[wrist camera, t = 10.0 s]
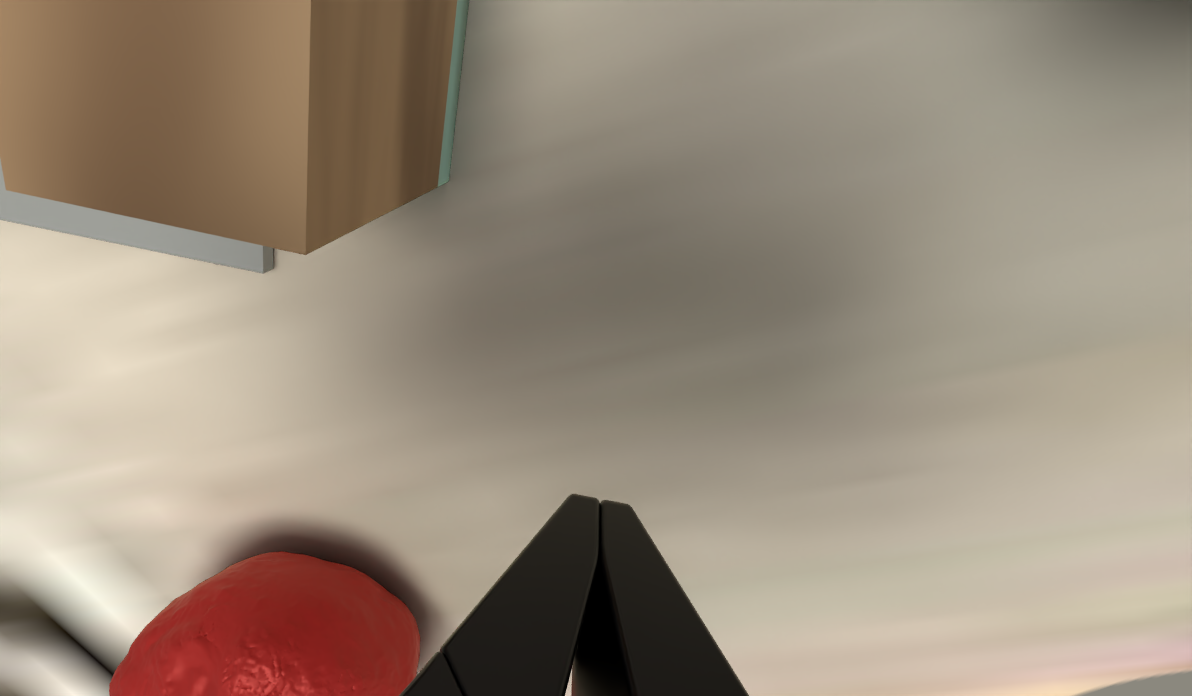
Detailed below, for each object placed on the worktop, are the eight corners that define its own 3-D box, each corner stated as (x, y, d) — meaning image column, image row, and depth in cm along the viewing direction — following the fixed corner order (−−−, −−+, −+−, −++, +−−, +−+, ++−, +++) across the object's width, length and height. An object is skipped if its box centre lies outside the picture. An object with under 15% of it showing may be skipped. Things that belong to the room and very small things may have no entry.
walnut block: (474, -45, 16) (314, -185, 8) (449, 181, 19) (305, 255, 10) (287, -90, 16) (-76, -280, 8) (285, 144, 18) (5, 190, 10)
